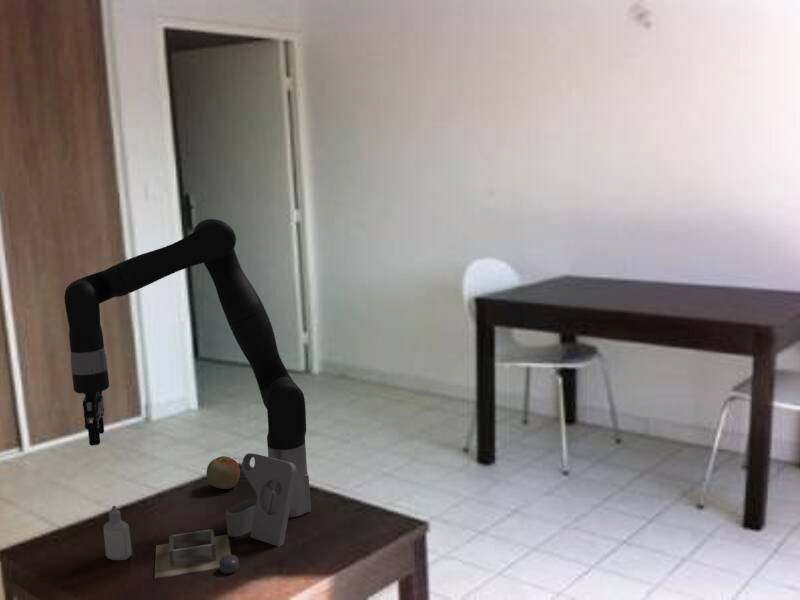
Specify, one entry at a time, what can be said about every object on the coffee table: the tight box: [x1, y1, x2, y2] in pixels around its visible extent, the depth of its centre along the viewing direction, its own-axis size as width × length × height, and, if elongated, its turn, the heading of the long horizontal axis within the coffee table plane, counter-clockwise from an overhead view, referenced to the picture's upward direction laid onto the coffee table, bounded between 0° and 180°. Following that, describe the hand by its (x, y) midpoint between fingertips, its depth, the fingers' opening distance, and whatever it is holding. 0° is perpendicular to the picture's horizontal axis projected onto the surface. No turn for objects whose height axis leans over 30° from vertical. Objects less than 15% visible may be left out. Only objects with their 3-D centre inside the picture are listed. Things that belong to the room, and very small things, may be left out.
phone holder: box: [225, 453, 297, 547], centre depth 191 cm, size 17×10×18 cm, turn 53°
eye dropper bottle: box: [103, 505, 133, 561], centre depth 185 cm, size 4×6×12 cm
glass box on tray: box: [154, 528, 232, 580], centre depth 183 cm, size 16×16×4 cm
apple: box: [206, 455, 241, 490], centre depth 224 cm, size 9×9×8 cm
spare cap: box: [219, 554, 240, 575], centre depth 176 cm, size 4×4×2 cm
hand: (97, 438), depth 189 cm, fingers open, 8 cm apart
